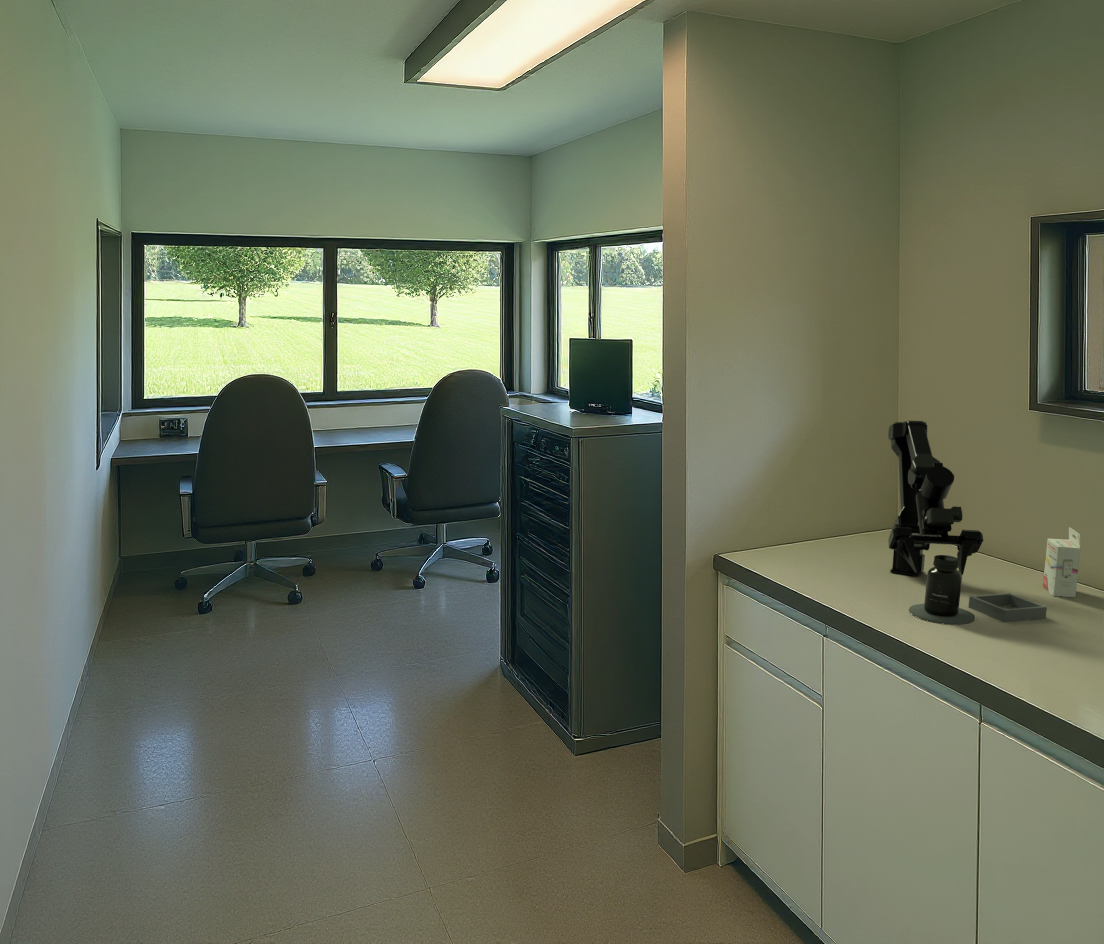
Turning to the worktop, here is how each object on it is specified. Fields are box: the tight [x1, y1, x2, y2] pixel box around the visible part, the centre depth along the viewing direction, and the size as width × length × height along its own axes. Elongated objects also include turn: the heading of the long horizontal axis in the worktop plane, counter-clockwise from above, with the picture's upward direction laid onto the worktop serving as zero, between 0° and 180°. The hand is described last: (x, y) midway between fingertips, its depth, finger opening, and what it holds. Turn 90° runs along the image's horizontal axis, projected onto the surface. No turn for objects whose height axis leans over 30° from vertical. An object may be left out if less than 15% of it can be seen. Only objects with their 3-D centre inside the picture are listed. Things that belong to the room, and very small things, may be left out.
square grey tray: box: [968, 592, 1048, 623], centre depth 203 cm, size 11×11×2 cm
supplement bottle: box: [923, 554, 963, 617], centre depth 200 cm, size 7×7×12 cm
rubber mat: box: [908, 603, 976, 625], centre depth 201 cm, size 13×13×1 cm
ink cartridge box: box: [1042, 526, 1081, 598], centre depth 218 cm, size 9×5×15 cm, turn 168°
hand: (939, 573), depth 204 cm, fingers open, 9 cm apart
